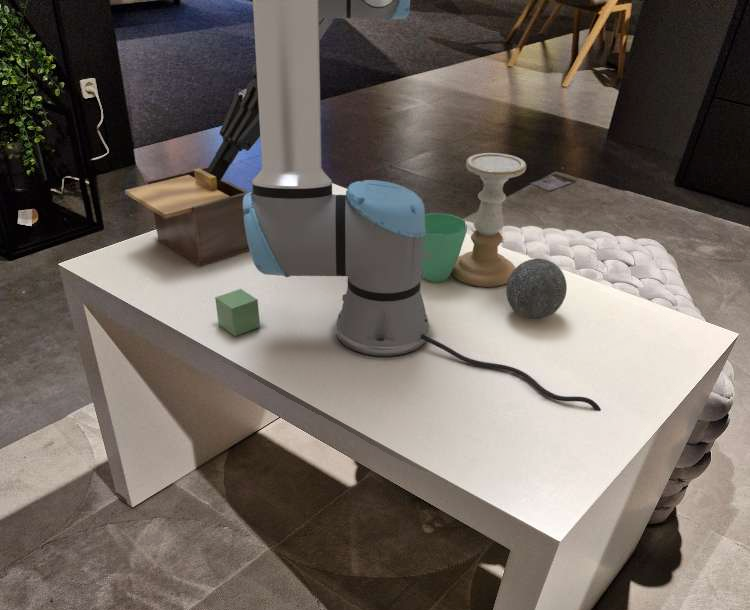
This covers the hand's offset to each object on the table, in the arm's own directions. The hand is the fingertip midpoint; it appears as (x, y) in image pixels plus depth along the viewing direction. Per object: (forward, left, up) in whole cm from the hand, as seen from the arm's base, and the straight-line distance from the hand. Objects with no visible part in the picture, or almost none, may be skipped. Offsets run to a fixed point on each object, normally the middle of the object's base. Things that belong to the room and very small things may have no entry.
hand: (213, 175), depth 141 cm
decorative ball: (-61, -24, -13) cm, 67 cm away
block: (-32, +17, -12) cm, 38 cm away
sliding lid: (0, +8, -2) cm, 8 cm away
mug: (-37, -22, -13) cm, 45 cm away
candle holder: (-44, -30, -13) cm, 55 cm away
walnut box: (0, +3, -12) cm, 13 cm away
